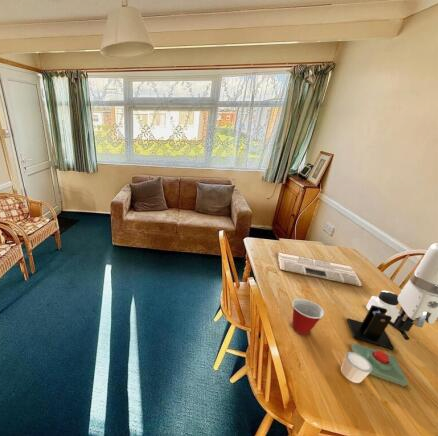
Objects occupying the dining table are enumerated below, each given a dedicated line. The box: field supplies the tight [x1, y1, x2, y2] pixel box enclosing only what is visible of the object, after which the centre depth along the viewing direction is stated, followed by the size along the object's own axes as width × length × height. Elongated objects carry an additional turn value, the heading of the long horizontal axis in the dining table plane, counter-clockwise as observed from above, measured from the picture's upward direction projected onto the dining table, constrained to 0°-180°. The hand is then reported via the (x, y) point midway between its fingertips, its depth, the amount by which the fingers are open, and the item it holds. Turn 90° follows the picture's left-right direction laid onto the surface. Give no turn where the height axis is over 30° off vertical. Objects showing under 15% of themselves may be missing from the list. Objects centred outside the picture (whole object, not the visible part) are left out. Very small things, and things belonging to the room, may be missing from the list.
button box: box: [350, 342, 409, 387], centre depth 81 cm, size 12×10×4 cm
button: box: [373, 350, 389, 364], centre depth 80 cm, size 4×4×2 cm
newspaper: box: [277, 252, 362, 287], centre depth 132 cm, size 37×19×3 cm, turn 68°
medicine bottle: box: [365, 290, 401, 323], centre depth 100 cm, size 7×7×12 cm
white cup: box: [340, 351, 372, 384], centre depth 77 cm, size 7×7×7 cm
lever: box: [373, 309, 410, 341], centre depth 88 cm, size 12×6×2 cm
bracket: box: [346, 305, 395, 351], centre depth 91 cm, size 12×10×13 cm
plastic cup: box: [291, 298, 325, 335], centre depth 93 cm, size 11×11×12 cm
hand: (400, 327), depth 74 cm, fingers closed
